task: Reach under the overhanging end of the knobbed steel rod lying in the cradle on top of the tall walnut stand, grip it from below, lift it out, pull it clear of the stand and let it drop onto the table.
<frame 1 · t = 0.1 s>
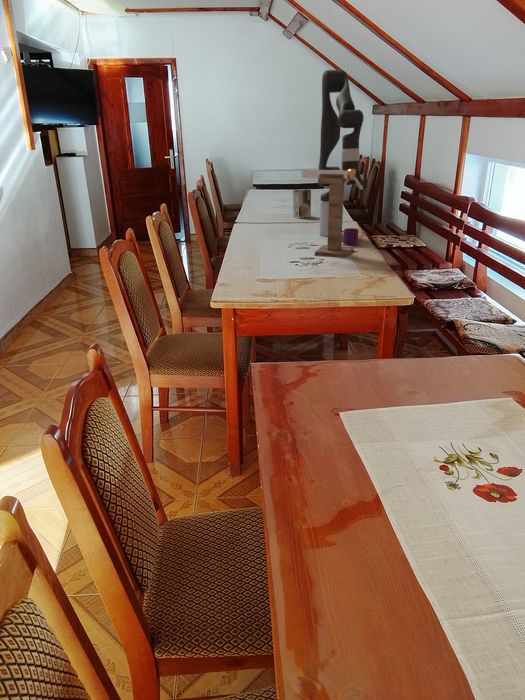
hand: (350, 199, 235), 22 cm above the table, tool pointing down, fingers open, 8 cm apart
stand: (329, 252, 240), on the table
rod: (325, 177, 228), point 32 cm above the table, touching stand
mug: (347, 244, 256), on the table
coffee box: (301, 217, 327), on the table
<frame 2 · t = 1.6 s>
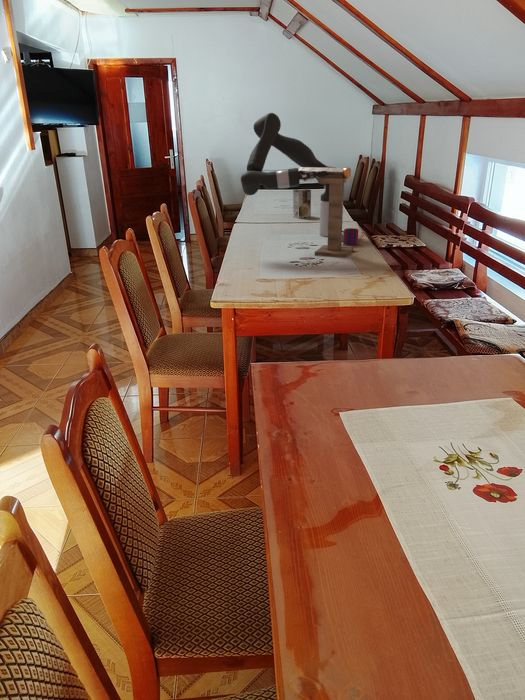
hand: (325, 173, 228), 34 cm above the table, tool horizontal, fingers open, 8 cm apart
rod: (321, 175, 229), point 33 cm above the table, tilted 24°, touching stand
everything else where it was.
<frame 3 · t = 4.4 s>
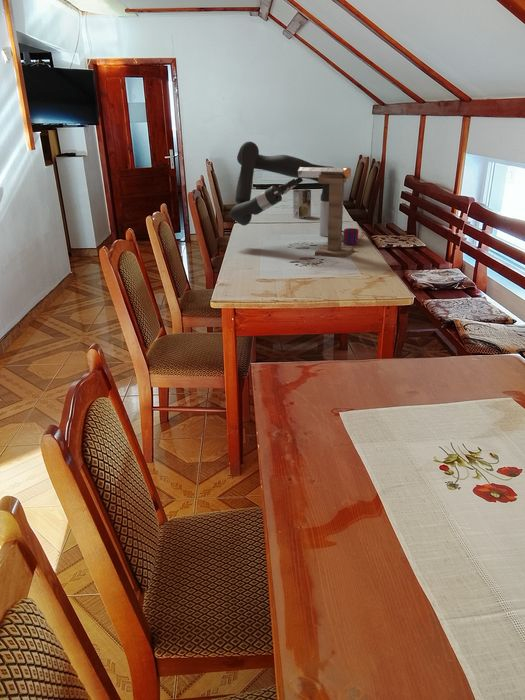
hand: (298, 179, 233), 31 cm above the table, tool pointing upward, fingers open, 8 cm apart
nothing on the table moved.
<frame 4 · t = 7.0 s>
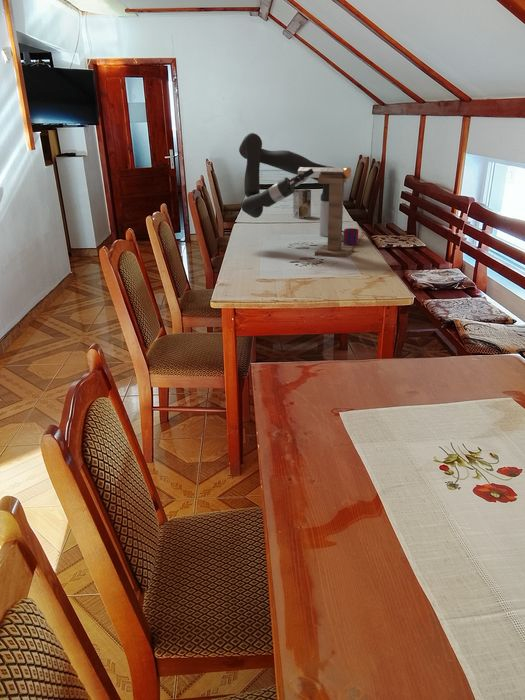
hand: (314, 170, 228), 35 cm above the table, tool pointing upward, fingers closed on rod, 4 cm apart
rod: (321, 175, 229), point 33 cm above the table, tilted 25°, touching gripper, stand
everything else where it was.
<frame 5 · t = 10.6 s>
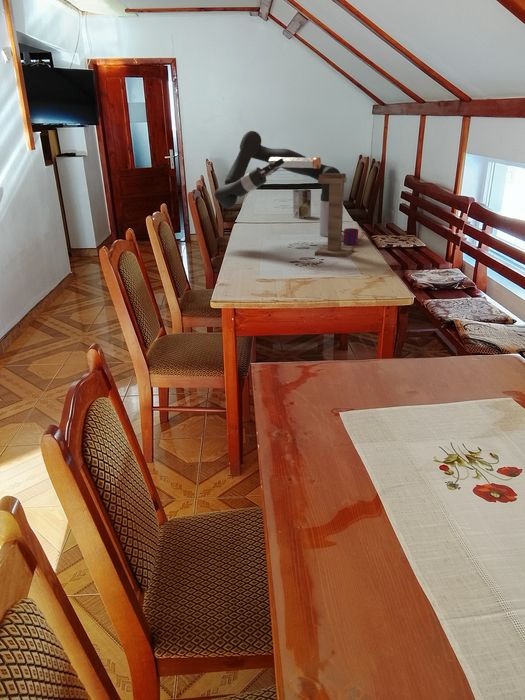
hand: (284, 160, 232), 39 cm above the table, tool pointing upward, fingers closed on rod, 4 cm apart
rod: (292, 165, 232), point 37 cm above the table, tilted 25°, touching gripper
everything else where it was.
when the fingers open (26 cm above the table, at t = 14.4 s): rod drops 24 cm, on the table.
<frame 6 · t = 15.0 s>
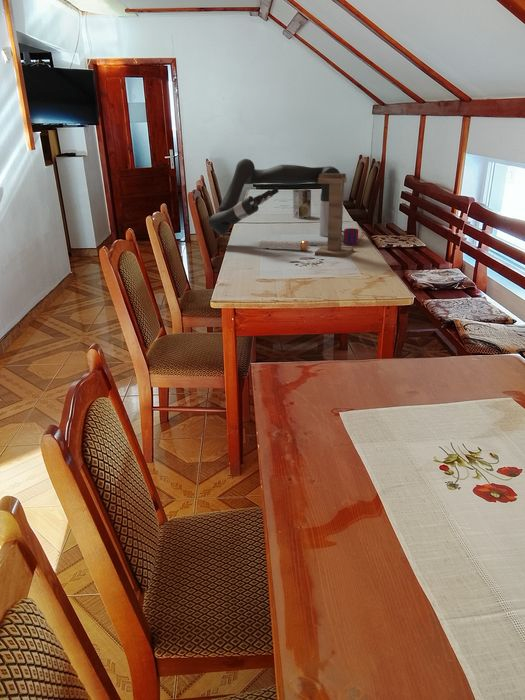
hand: (274, 190, 238), 26 cm above the table, tool pointing upward, fingers open, 8 cm apart
rod: (281, 248, 247), on the table
everything else where it was.
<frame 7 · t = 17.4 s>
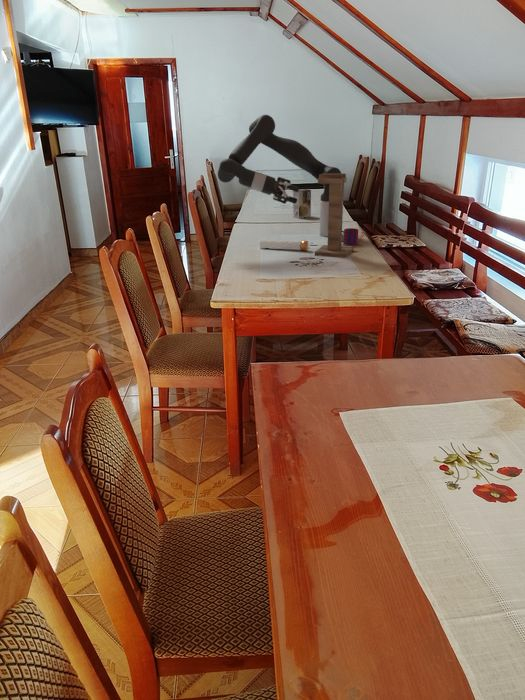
hand: (297, 195, 236), 24 cm above the table, tool tilted 70°, fingers open, 8 cm apart
nothing on the table moved.
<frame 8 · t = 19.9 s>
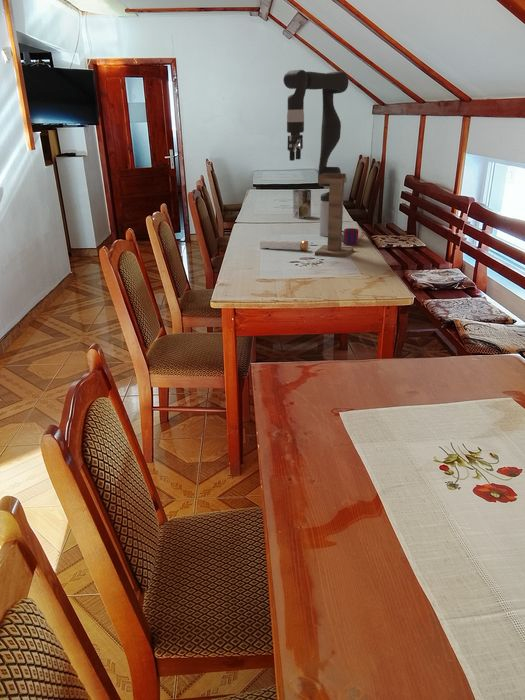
hand: (295, 159, 243), 38 cm above the table, tool pointing down, fingers open, 8 cm apart
nothing on the table moved.
at the end: rod inside the target area (2.1 cm from its centre), on the table; rod touching table; the gripper is holding nothing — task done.
